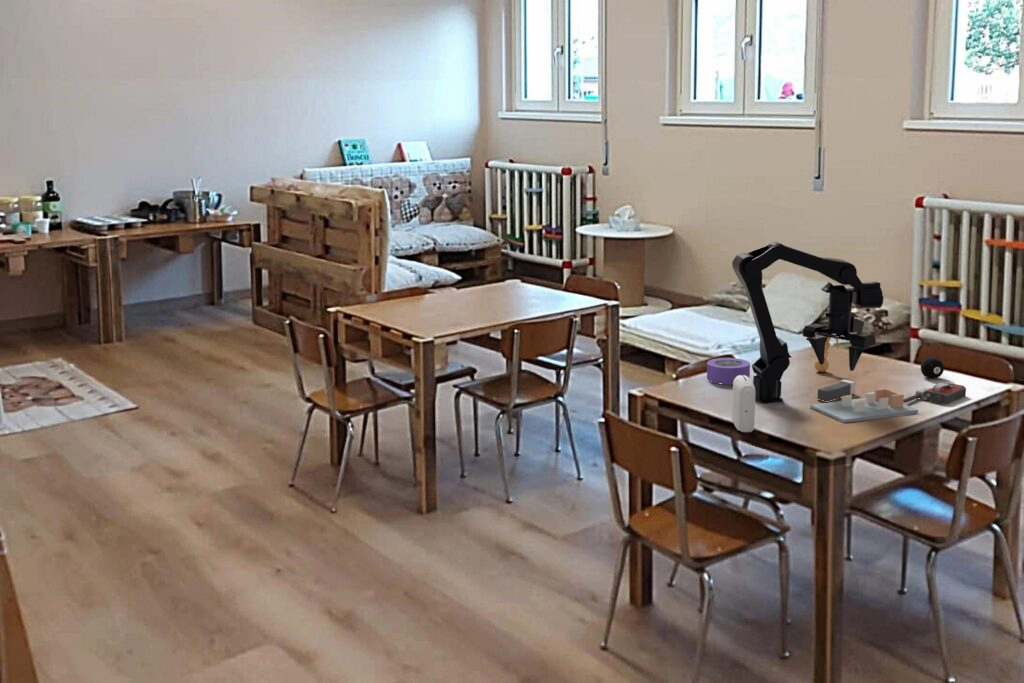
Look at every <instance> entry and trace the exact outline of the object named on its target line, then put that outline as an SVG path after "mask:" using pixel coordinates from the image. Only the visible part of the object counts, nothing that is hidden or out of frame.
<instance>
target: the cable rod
mask: <svg viewBox="0 0 1024 683" xmlns="http://www.w3.org/2000/svg"><path fill="white" fill-rule="evenodd" d="M854 393H855V394H856V381H852V380H847V379H841V380H840V381H839V382H838V383H834V384H831V385H828V386H824V387H822V388H818V389H817V399H820V400H824V401H830V400H833V399H837V398H840V397H842V396H847V395H851V394H854ZM855 394H854V395H855ZM851 396H852V395H851ZM840 399H841V398H840ZM837 400H838V399H837Z"/></svg>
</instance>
